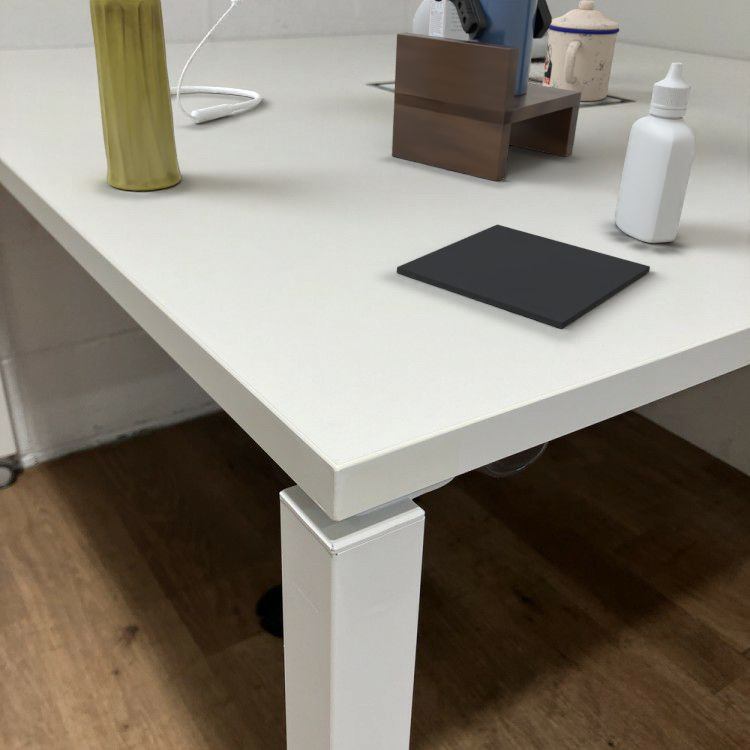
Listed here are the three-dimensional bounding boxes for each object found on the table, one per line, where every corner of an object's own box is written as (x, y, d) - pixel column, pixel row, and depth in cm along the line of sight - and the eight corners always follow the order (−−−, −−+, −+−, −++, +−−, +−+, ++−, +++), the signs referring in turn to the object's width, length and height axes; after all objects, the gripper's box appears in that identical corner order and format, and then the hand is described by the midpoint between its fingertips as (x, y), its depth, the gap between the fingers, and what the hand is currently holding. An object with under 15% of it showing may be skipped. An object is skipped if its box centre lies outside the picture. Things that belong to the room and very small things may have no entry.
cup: (486, 82, 82) (495, -18, 77) (538, 91, 79) (551, -13, 74) (451, 89, 78) (459, -16, 73) (505, 99, 74) (517, -11, 70)
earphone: (82, 84, 85) (133, -45, 91) (143, 178, 100) (183, 62, 106) (204, 94, 82) (248, -40, 89) (247, 189, 98) (282, 69, 104)
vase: (175, 169, 72) (159, -9, 65) (187, 188, 67) (172, -2, 60) (103, 173, 70) (79, -9, 63) (110, 194, 65) (85, -2, 58)
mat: (496, 229, 61) (497, 224, 61) (649, 271, 54) (650, 266, 54) (396, 272, 53) (396, 266, 53) (561, 329, 46) (562, 322, 46)
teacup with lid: (546, 86, 115) (558, -4, 110) (612, 93, 113) (627, 0, 107) (528, 101, 106) (540, 2, 100) (599, 108, 103) (615, 7, 97)
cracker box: (508, 75, 123) (525, -84, 113) (528, 82, 118) (548, -84, 108) (423, 77, 119) (433, -88, 109) (440, 85, 114) (452, -88, 104)
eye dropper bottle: (671, 224, 63) (707, 59, 58) (675, 247, 59) (714, 71, 53) (614, 217, 64) (643, 55, 58) (613, 240, 60) (644, 67, 54)
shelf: (472, 133, 88) (482, 23, 83) (572, 154, 82) (590, 36, 76) (391, 156, 79) (396, 33, 74) (496, 181, 72) (511, 48, 67)
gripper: (405, -156, 72) (457, 4, 68) (543, -146, 77) (599, 4, 73) (379, -88, 79) (425, 62, 75) (507, -82, 84) (557, 58, 80)
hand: (511, 32), depth 74 cm, fingers closed on cup, 6 cm apart
